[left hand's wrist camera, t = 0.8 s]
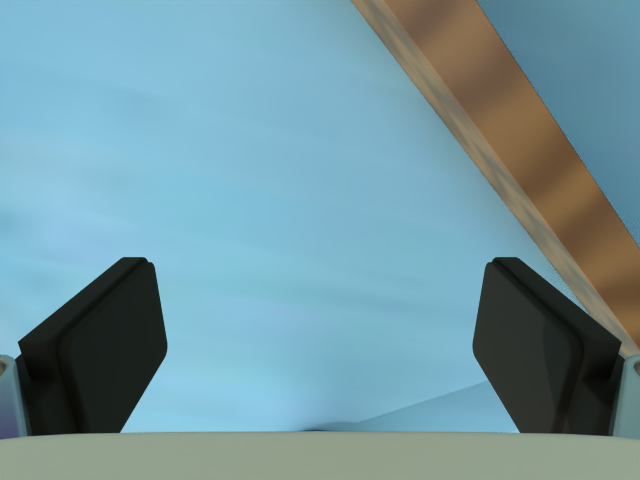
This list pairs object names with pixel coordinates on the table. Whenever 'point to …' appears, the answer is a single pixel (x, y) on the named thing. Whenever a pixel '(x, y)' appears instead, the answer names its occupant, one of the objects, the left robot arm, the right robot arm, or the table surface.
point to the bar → (517, 150)
